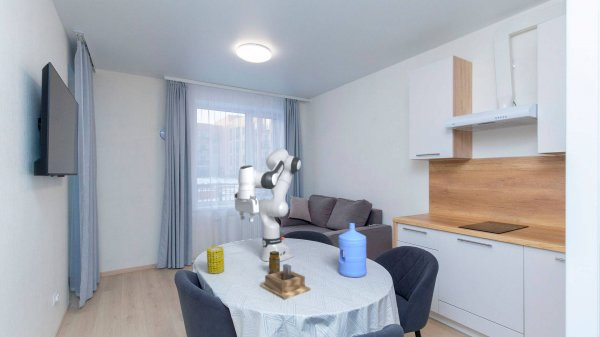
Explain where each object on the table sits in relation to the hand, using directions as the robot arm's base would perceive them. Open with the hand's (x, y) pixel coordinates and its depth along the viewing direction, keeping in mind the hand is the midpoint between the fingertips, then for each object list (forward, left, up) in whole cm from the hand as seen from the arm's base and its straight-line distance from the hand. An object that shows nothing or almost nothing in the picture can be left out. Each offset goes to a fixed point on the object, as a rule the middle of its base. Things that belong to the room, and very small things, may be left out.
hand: (246, 220), depth 158 cm
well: (-7, +25, -31) cm, 40 cm away
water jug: (-49, +33, -31) cm, 67 cm away
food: (+9, -20, -31) cm, 38 cm away
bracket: (-7, +25, -30) cm, 40 cm away
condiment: (-15, +5, -31) cm, 35 cm away
